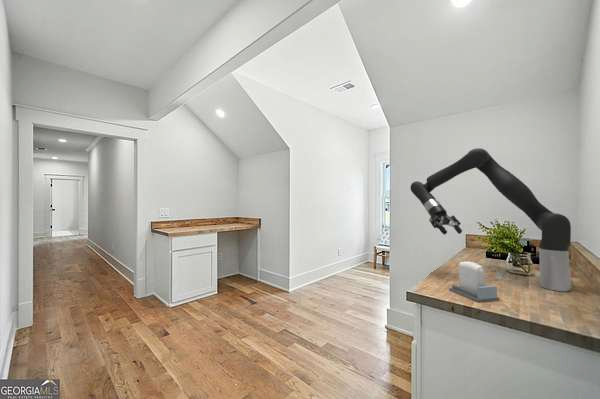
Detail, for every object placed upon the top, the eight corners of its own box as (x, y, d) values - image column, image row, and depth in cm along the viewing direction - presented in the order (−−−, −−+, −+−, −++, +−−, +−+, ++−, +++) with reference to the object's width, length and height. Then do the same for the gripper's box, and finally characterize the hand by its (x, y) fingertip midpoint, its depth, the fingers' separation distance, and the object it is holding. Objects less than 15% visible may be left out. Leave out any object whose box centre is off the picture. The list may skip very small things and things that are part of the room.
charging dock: (468, 288, 112) (468, 276, 112) (499, 300, 98) (498, 286, 98) (449, 290, 110) (449, 277, 110) (477, 302, 96) (477, 288, 96)
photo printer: (457, 288, 110) (456, 259, 110) (465, 287, 111) (465, 259, 111) (478, 296, 100) (477, 265, 100) (487, 295, 100) (486, 264, 101)
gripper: (426, 204, 129) (444, 228, 118) (450, 203, 133) (470, 227, 121) (419, 214, 134) (436, 238, 123) (442, 213, 138) (461, 237, 126)
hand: (453, 233), depth 122 cm, fingers open, 8 cm apart
